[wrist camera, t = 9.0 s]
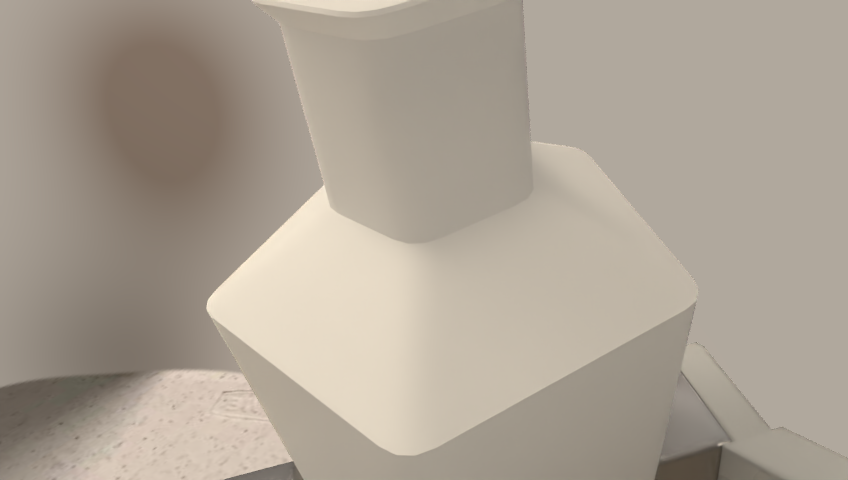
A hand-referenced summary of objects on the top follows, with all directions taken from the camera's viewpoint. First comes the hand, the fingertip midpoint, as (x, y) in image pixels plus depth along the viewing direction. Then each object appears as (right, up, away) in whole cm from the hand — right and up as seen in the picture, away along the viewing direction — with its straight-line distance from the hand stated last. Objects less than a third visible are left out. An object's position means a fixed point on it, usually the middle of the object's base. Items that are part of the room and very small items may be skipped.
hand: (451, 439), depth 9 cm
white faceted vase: (+2, -7, +4) cm, 9 cm away
